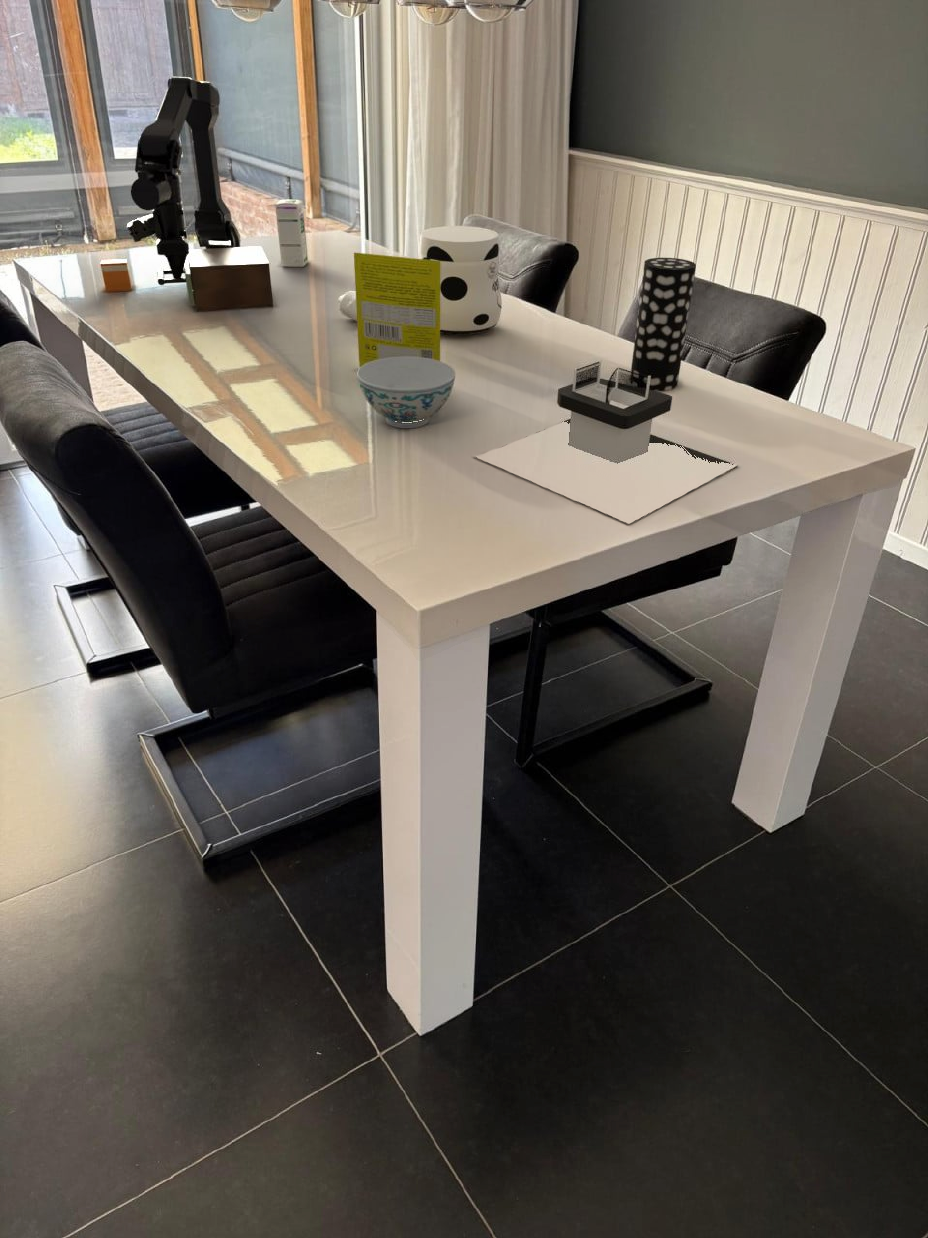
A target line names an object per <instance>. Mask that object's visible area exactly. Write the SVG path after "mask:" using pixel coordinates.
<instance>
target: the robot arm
mask: <svg viewBox="0 0 928 1238" xmlns="http://www.w3.org/2000/svg"><path fill="white" fill-rule="evenodd" d="M220 100H221V97H220V93H219V90H218V88H217V87H215V86H214V85H213V83H212V82H210V81H198V80H196V79H194V78H191V77H188V76H187V77H186V76H172V77H170V78H168V80H167V90H166V92H165V95H164V97H163V101H162V103H161V105H160V109H159V111H158V114H157V117H156V119H155V120H154V122H152V123H150V124H149V125H147V126H145V128H144V130H142V133H140V136H139V139H138V140H137V145H136V146H137V148H136V156H135V165H134V172H135V173H136V174H137V179H135V180H134V181H133V182H132V184H131V188H130V196H131V200H132V201H133V203H134V204H135V205H136V206H137V207H138V208H140V209H142V210H144V211H152V213H151V214H148V215H144V216H142V217H137V219H135V220H134V219H132V221H130V222H128V223H127V224H126V228H127V230H128V232H129V235H130V236H131V238H132V240H133V242H134V243H139V242H141V241H142V240H143V239H146V238H148V237H150V236H153V235H154V236H155V238H156V239H157V240H156V241H155V243H156V252H157V255H158V256H164V257H165V258H166V259H167V262H168V266H169V269H171V272H172V274H171V275H172V278H182V276H183V273H182V272H183V269H184V265H185V261H186V258H187V259H188V254H189V250H190V246H189V241H188V240H187V239H188V234H187V227H186V225H185V217H184V215H185V214H184V207H183V200H182V199H183V198H182V190H181V181H180V176H181V175H182V172H181V170H180V165H181V160H182V156H183V146H182V143H181V140H180V136H181V132H182V130H183V127H184V125H185V122H186V123H187V125H188V127H189V128H190V132H191V138H192V146H193V155H194V161H195V170H196V177H197V184H198V189H199V190H198V192H199V199H200V201H199V204H198V206H197V209H195V210H194V212H193V214H194V215H193V216H194V231H195V236H196V239H197V242H198V246H199V247H200V248H205V249H216V248H239V247H241V241H242V240H241V234H240V232H239V230H238V228H237V226H236V225H235V223H234V221H233V219H232V218H233V217H232V214H231V210H230V209H229V208H228V206H227V205H226V203H225V202H224V200H223V198H222V197H223V196H222V191H221V189H222V188H221V182H220V171H219V164H218V155H217V148H216V140H215V132H214V131H215V130H214V127H215V124H216V122H217V120H218V117H219V115H220V109H219V108H220V107H219V106H220V103H221V101H220Z"/></svg>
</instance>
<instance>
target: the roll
mask: <svg viewBox="0 0 928 1238" xmlns="http://www.w3.org/2000/svg"><path fill="white" fill-rule="evenodd" d="M337 302H338V303H339V311H340V313H341V314H343V316H345V317H347V318H349V319H351V320H352V321H355V322H356V323H357V308H356V290H349V291H346V292H345V293H344V294H341V295H340V296H339V297H338V300H337Z"/></svg>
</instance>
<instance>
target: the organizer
mask: <svg viewBox="0 0 928 1238" xmlns="http://www.w3.org/2000/svg"><path fill="white" fill-rule="evenodd" d="M187 260H188V265H189V270H190V275H191V276H192V283H193V290H194V296H195V303H196V305H195V310H196V312H209V311H210V312H211V311H225V310H227V311H228V310H244V309H261V308H273V307H274V301H273V300H274V299H273V288H272V279H271V270H270V263H269V260H268V258H267V256H266V254H265V252H264V250H263V248H262V246H243V247H241V246H240V247H237V248H216V249H206V248H197V249H189V254H188V255H187Z"/></svg>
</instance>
